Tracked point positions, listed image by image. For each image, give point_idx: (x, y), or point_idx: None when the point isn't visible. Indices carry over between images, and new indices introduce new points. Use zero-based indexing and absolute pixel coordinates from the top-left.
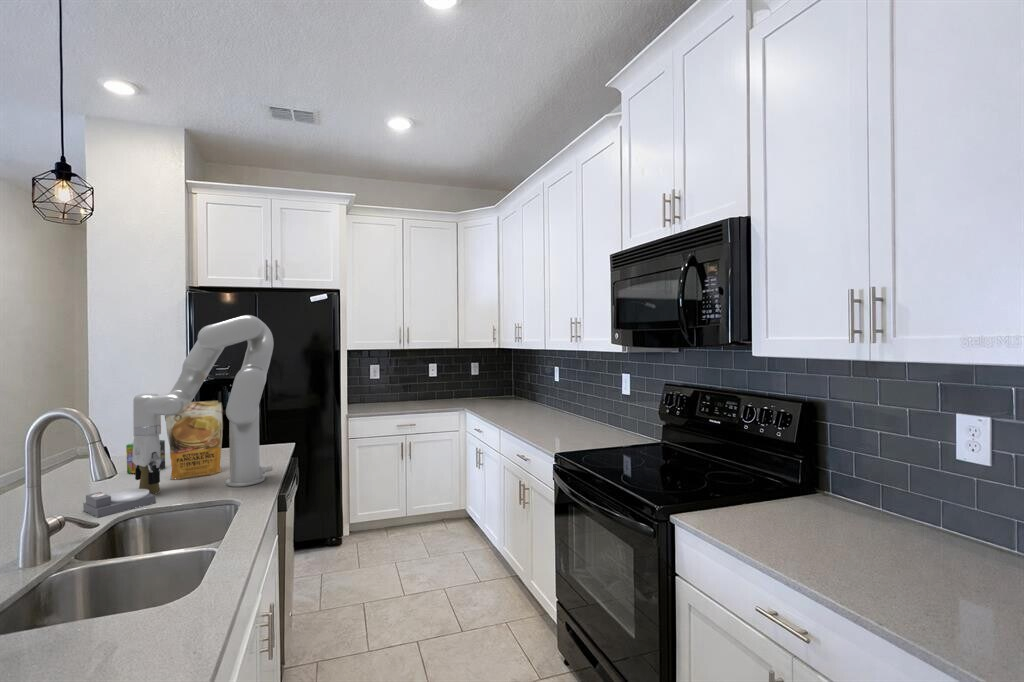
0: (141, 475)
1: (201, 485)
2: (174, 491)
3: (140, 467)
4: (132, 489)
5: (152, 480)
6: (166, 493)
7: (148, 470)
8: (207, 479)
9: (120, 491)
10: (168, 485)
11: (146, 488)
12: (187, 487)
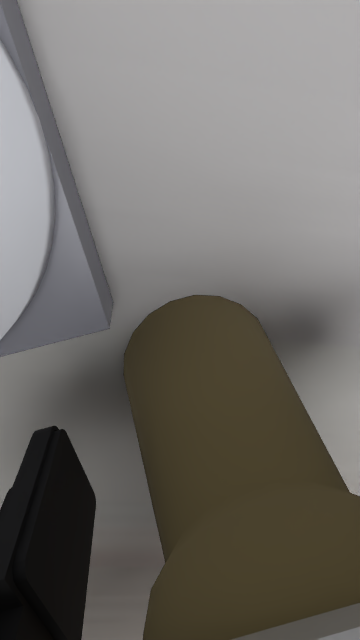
0: (237, 433)
1: (134, 599)
2: (103, 492)
3: (256, 572)
4: (27, 260)
5: (8, 494)
6: (85, 453)
7: (154, 585)
8: None
9: (20, 113)
10: None
11: (136, 375)
12: (149, 548)
